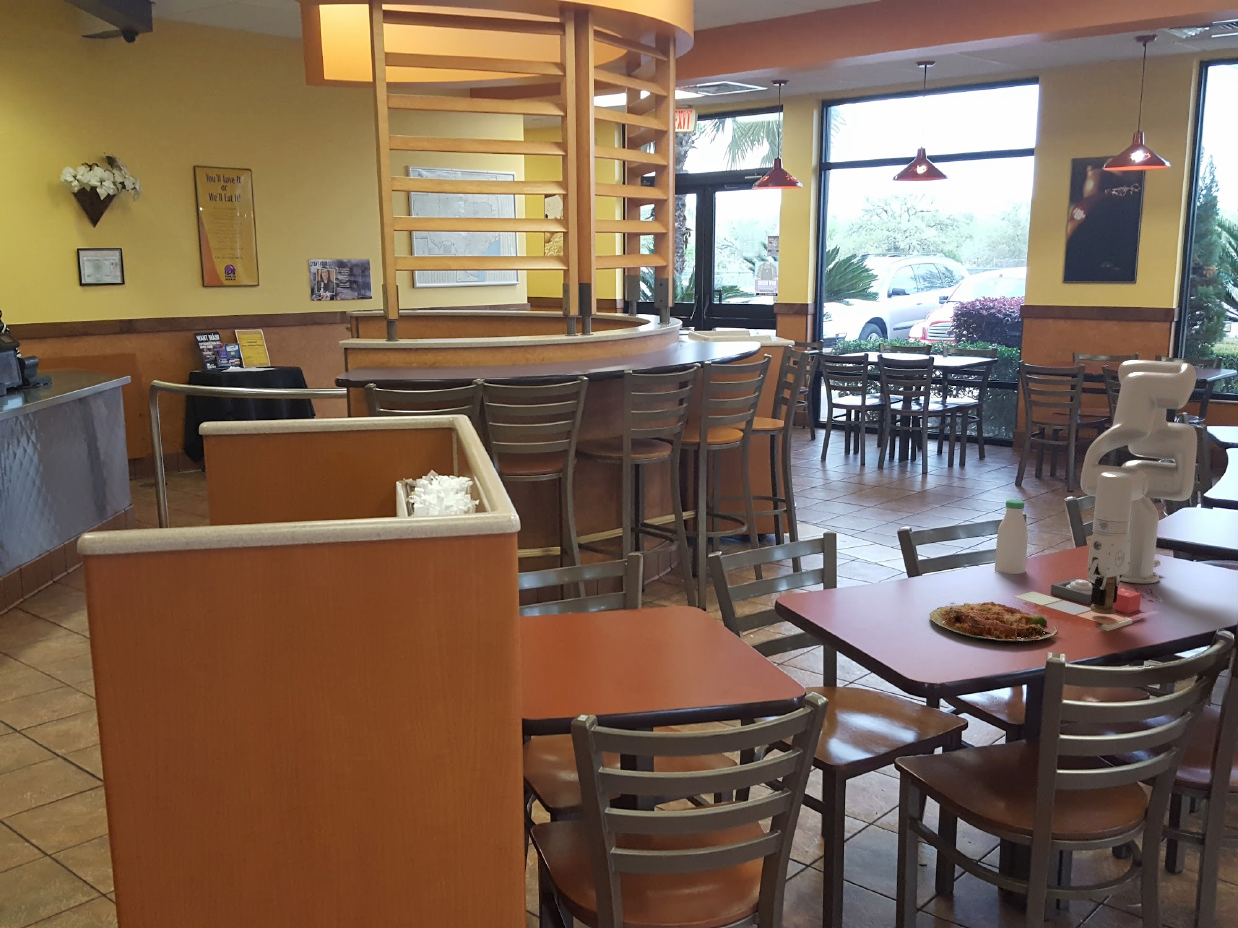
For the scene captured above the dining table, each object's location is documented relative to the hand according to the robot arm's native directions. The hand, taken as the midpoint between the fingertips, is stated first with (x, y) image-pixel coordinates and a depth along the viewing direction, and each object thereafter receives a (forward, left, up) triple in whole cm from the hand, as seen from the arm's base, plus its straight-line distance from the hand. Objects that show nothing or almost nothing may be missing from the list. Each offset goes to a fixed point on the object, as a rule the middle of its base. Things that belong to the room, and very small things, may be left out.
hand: (1103, 602), depth 246 cm
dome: (-11, -12, -3) cm, 17 cm away
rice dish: (+25, -12, -5) cm, 28 cm away
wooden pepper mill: (0, 0, -2) cm, 2 cm away
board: (0, -9, -5) cm, 10 cm away
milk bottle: (-16, -37, -5) cm, 40 cm away
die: (-11, -1, -5) cm, 12 cm away
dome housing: (-11, -13, -5) cm, 17 cm away
